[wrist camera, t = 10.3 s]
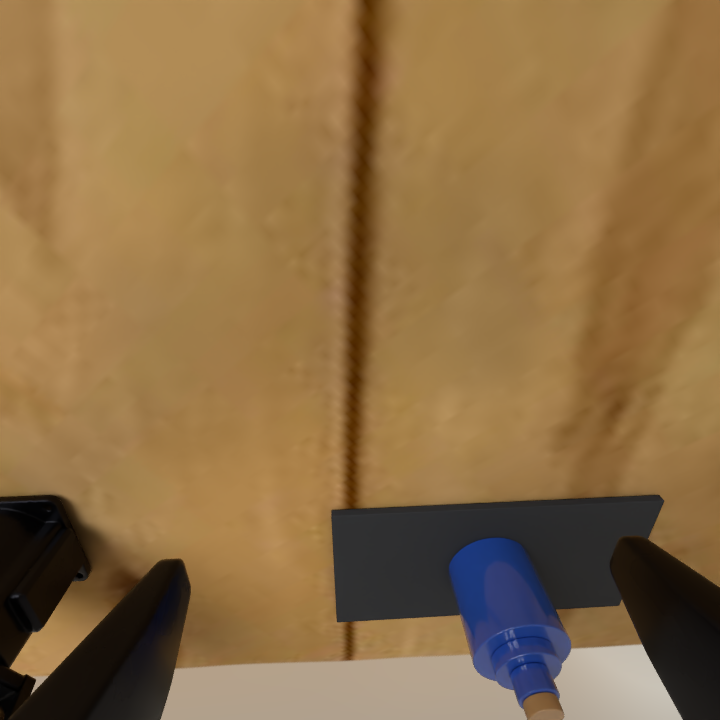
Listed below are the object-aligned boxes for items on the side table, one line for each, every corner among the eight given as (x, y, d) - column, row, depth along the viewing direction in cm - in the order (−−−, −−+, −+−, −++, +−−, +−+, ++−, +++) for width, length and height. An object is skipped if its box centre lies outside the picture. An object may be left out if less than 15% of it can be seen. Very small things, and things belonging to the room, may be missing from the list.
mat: (336, 615, 28) (336, 622, 28) (331, 509, 24) (331, 516, 23) (614, 599, 29) (619, 606, 29) (658, 494, 25) (664, 500, 24)
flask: (444, 593, 27) (484, 749, 20) (451, 539, 25) (499, 692, 18) (521, 589, 27) (587, 741, 20) (535, 534, 25) (615, 684, 18)
